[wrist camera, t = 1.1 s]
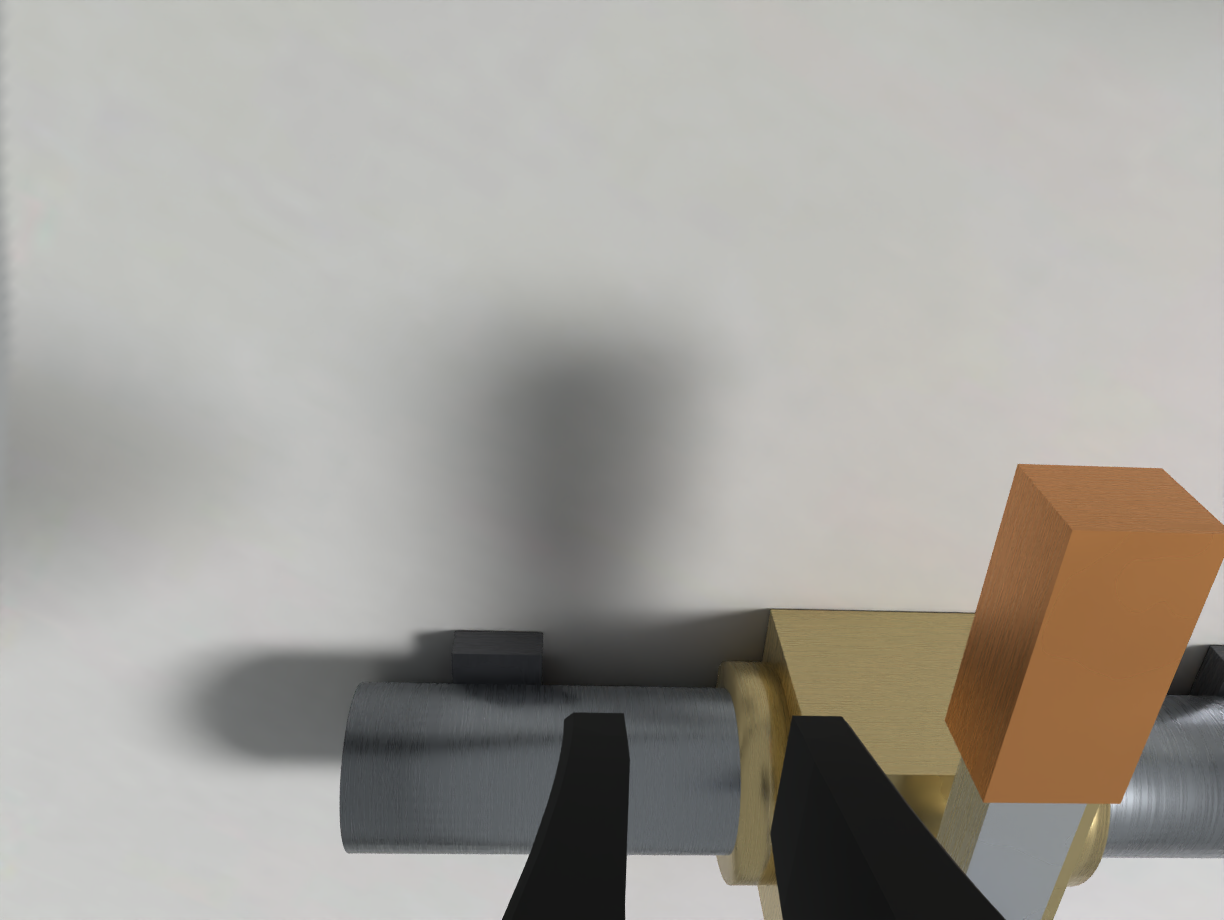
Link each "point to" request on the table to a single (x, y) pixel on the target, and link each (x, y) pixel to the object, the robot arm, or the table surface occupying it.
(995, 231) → the table surface
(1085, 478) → the valve lever
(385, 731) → the valve pipe
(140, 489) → the table surface
